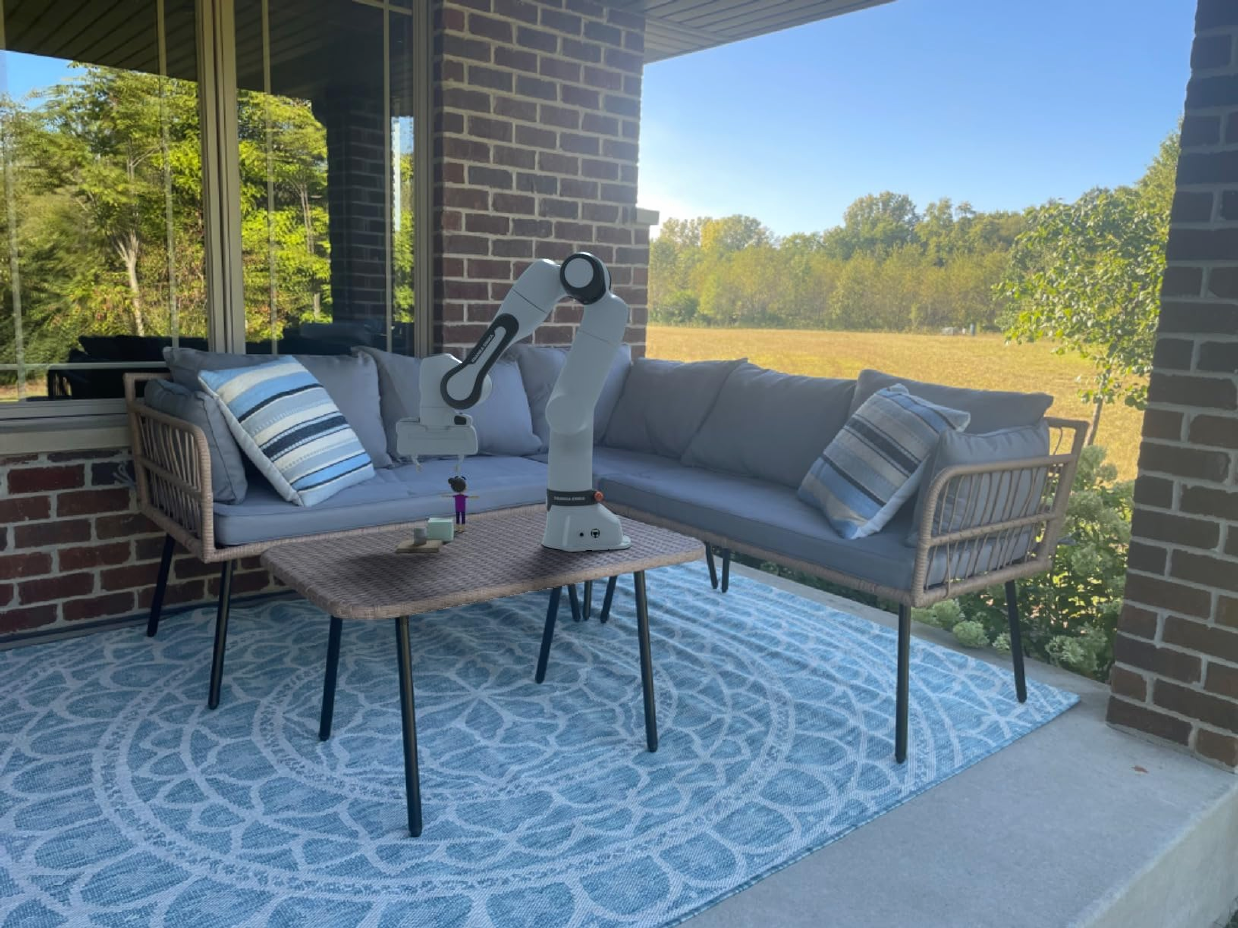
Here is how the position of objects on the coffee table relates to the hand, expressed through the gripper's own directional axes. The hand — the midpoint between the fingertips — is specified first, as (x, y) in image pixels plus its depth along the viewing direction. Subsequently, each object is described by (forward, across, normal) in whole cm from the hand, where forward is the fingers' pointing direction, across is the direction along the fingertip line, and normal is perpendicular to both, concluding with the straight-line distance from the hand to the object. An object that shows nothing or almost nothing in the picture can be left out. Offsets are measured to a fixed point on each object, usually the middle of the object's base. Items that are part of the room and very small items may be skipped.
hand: (438, 471), depth 228 cm
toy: (+18, +5, +9) cm, 21 cm away
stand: (+18, -4, -9) cm, 20 cm away
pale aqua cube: (+18, 0, +1) cm, 18 cm away
